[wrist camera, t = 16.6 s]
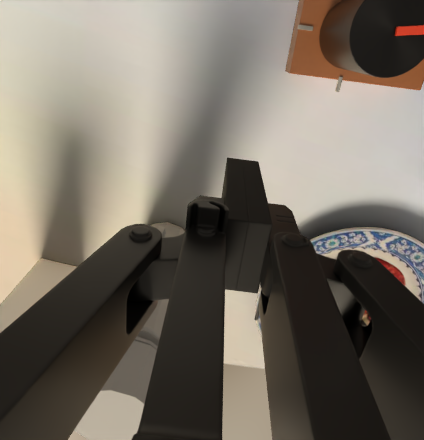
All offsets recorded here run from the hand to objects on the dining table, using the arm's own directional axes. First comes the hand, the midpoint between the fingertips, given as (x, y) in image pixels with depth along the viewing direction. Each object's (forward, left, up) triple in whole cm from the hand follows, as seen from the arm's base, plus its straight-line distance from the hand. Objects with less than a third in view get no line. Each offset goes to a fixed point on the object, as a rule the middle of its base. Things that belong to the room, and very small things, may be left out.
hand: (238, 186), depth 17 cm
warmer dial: (+1, +13, -21) cm, 25 cm away
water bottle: (+8, -17, -25) cm, 31 cm away
